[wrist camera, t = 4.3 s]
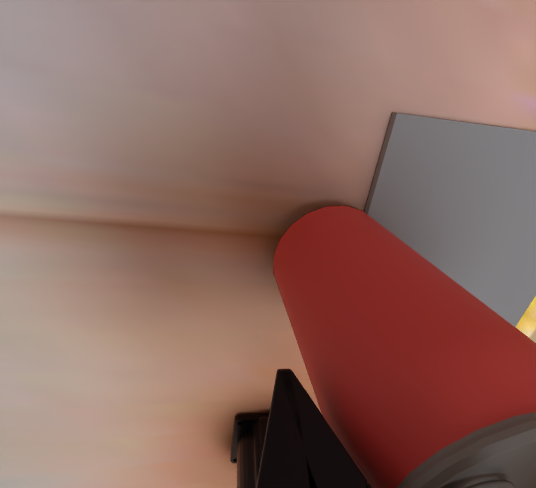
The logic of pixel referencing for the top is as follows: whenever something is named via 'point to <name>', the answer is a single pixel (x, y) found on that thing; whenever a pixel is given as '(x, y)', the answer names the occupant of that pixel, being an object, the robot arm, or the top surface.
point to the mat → (463, 204)
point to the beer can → (407, 359)
